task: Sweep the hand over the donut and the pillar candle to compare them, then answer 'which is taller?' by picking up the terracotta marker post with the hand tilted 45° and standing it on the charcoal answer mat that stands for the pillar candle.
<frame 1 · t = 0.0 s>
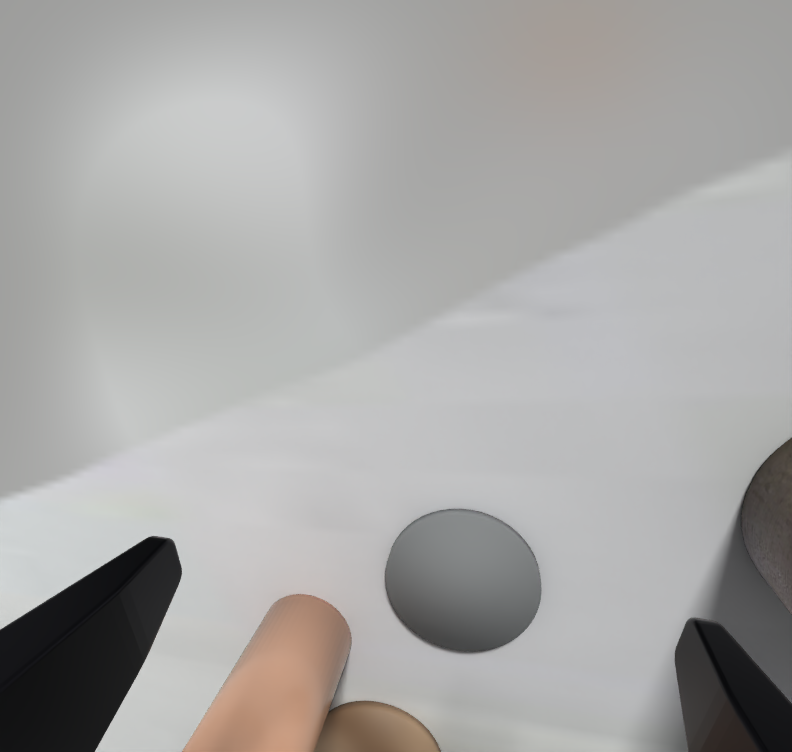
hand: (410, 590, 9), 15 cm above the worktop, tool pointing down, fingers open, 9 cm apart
marker post: (307, 634, 29), on the worktop
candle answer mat: (461, 577, 27), on the worktop
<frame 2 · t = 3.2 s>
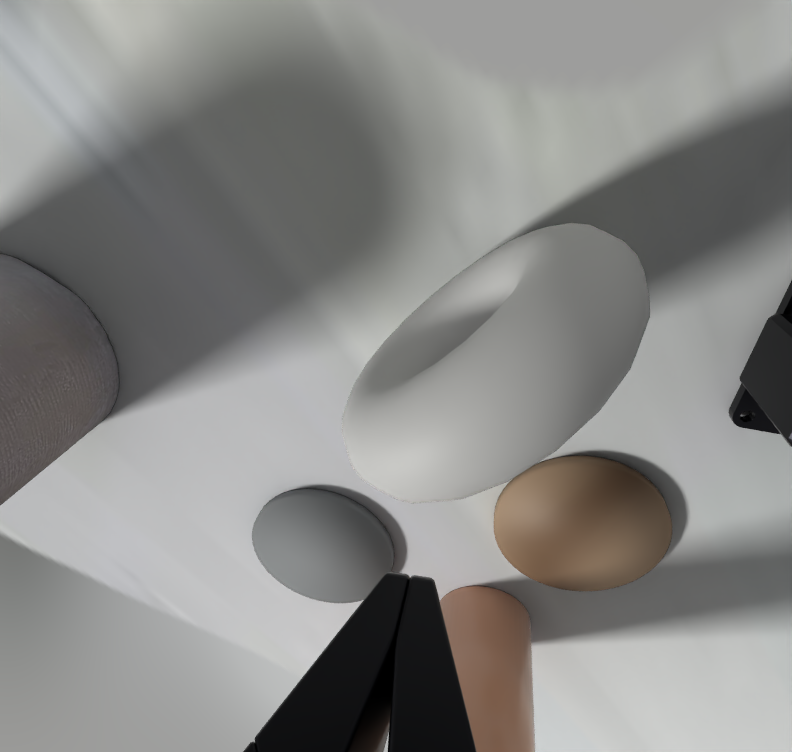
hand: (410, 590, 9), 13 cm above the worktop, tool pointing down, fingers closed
marker post: (482, 618, 29), on the worktop
pillar candle: (33, 345, 26), on the worktop
donut: (486, 296, 20), on the worktop
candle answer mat: (324, 544, 28), on the worktop
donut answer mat: (578, 522, 24), on the worktop
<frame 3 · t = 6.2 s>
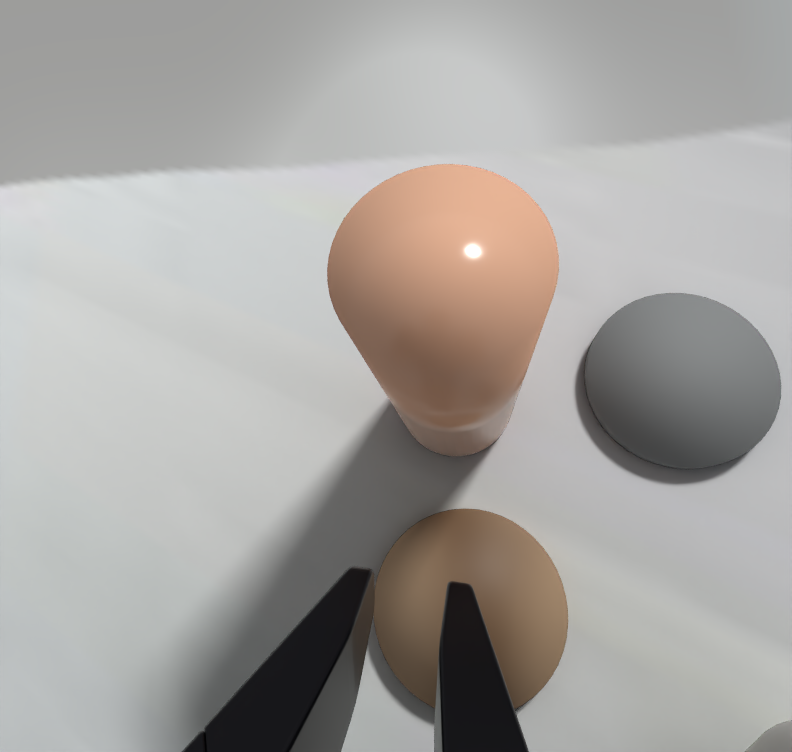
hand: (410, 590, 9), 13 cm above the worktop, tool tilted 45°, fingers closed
marker post: (455, 400, 24), on the worktop
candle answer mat: (676, 379, 23), on the worktop
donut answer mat: (468, 605, 21), on the worktop
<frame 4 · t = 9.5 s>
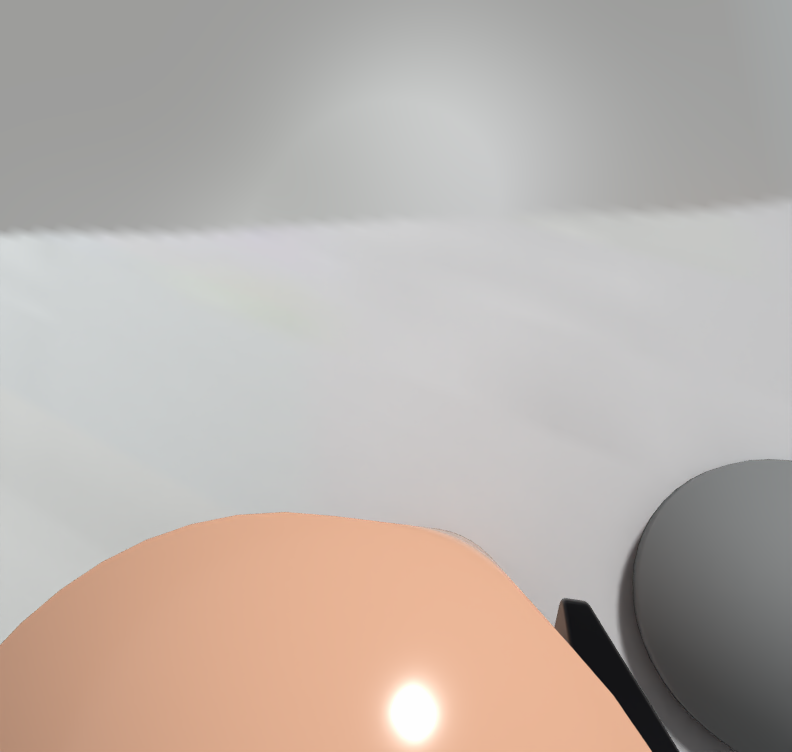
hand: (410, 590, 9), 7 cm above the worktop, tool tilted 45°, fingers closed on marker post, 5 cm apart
marker post: (428, 619, 15), on the worktop, touching gripper
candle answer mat: (783, 605, 14), on the worktop
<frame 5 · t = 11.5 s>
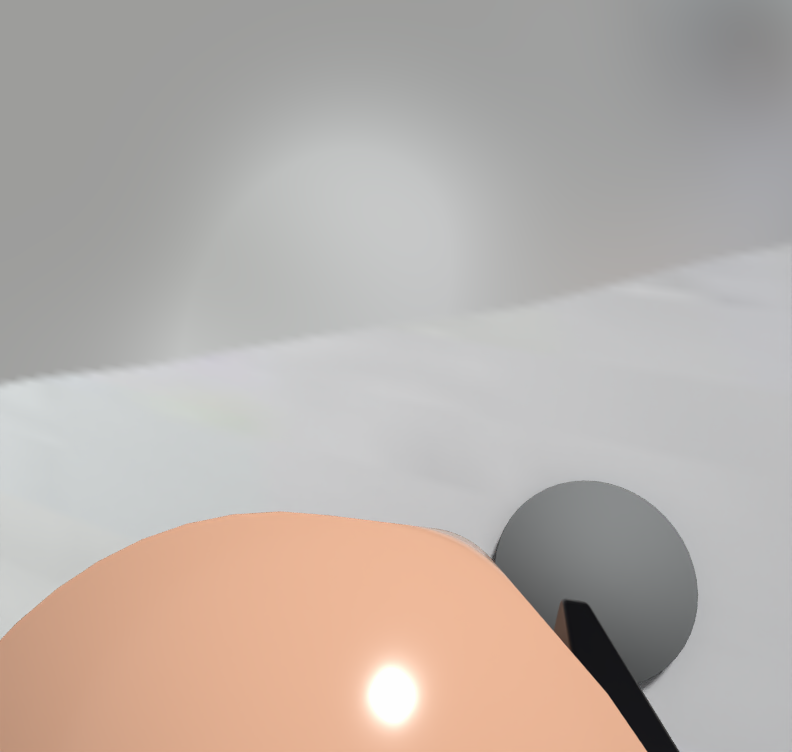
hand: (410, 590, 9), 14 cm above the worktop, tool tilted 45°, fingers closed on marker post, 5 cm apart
marker post: (427, 618, 15), point 7 cm above the worktop, touching gripper
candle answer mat: (590, 577, 21), on the worktop
when the fingers open (8 cm above the worktop, at t = 13.6 s): marker post stays where it is, resting on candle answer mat.
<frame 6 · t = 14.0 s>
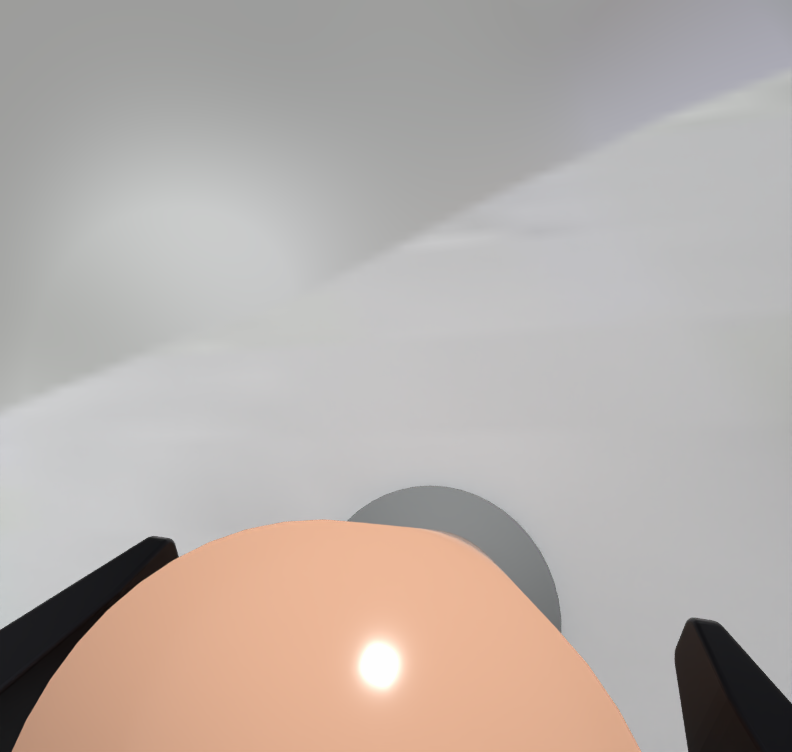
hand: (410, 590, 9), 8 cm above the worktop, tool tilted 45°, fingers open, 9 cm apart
marker post: (430, 615, 16), point 1 cm above the worktop, touching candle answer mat
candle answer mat: (432, 611, 17), on the worktop
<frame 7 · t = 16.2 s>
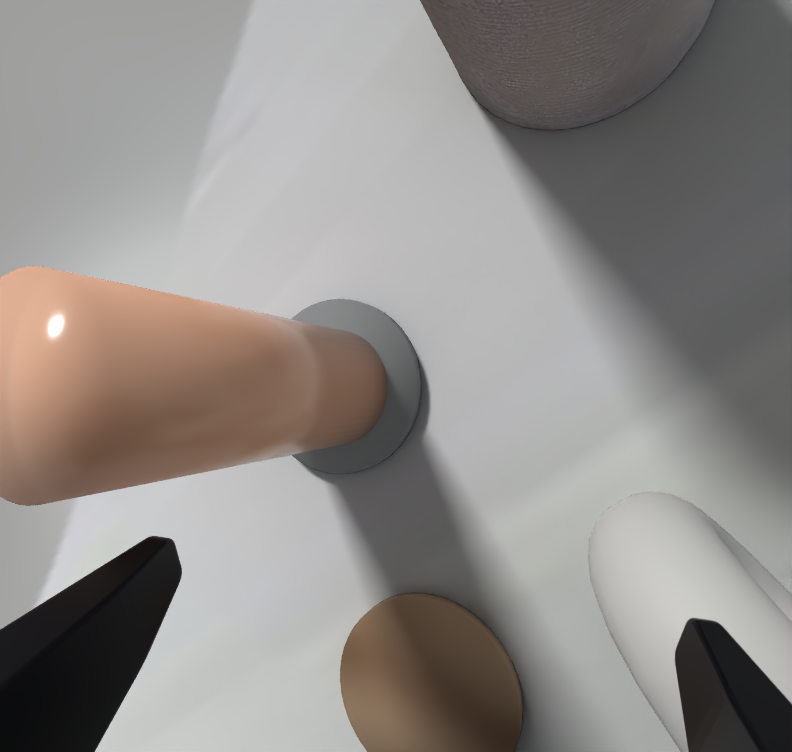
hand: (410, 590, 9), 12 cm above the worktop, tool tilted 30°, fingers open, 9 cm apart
marker post: (335, 387, 23), point 1 cm above the worktop, touching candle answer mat
pillar candle: (577, 10, 20), on the worktop
donut: (721, 595, 18), on the worktop
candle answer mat: (341, 386, 24), on the worktop
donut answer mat: (428, 687, 22), on the worktop
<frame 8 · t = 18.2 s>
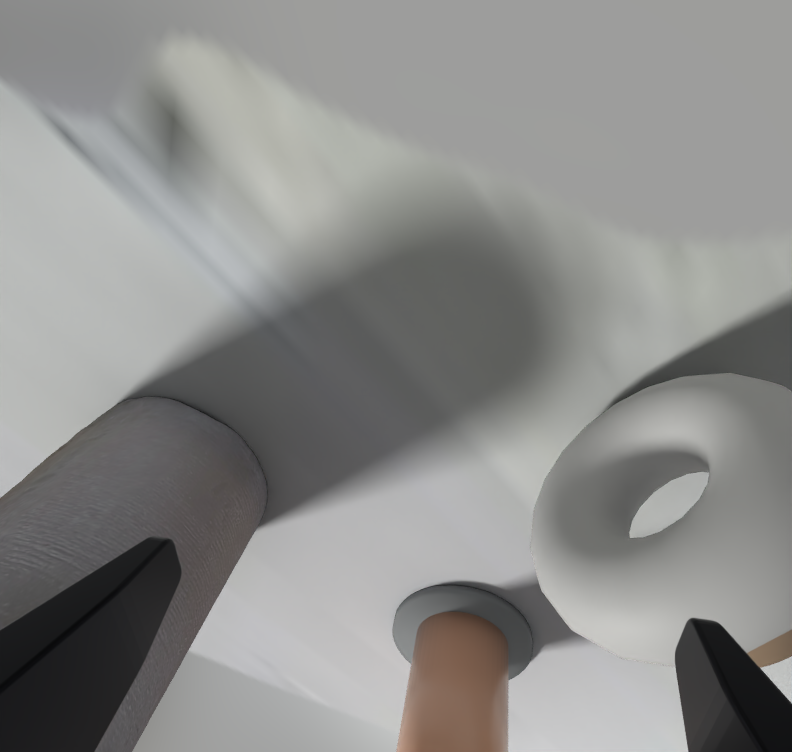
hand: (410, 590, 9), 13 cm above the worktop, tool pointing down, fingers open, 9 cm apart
marker post: (461, 642, 29), point 1 cm above the worktop, touching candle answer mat
pillar candle: (185, 470, 28), on the worktop
donut: (633, 415, 21), on the worktop
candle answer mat: (461, 633, 29), on the worktop
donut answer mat: (721, 608, 25), on the worktop
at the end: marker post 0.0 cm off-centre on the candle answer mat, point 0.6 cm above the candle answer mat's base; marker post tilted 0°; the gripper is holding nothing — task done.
